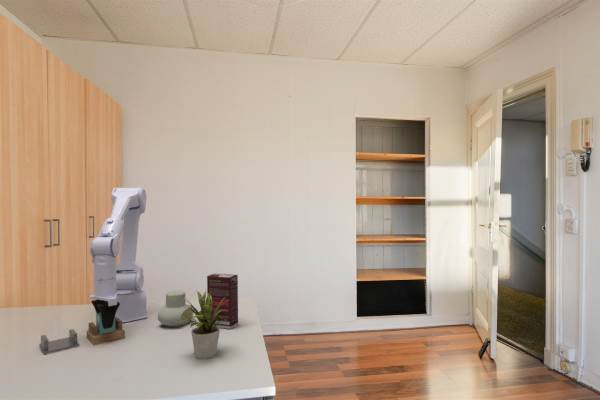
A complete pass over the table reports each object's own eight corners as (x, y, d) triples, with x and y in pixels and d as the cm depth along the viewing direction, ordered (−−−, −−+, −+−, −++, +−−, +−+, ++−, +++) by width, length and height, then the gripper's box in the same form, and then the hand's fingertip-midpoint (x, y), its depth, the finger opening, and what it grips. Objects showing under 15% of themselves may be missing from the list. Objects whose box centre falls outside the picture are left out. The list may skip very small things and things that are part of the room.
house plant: (165, 351, 97) (165, 288, 97) (215, 339, 105) (214, 281, 105) (185, 370, 85) (184, 299, 86) (239, 355, 94) (238, 290, 94)
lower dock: (73, 338, 106) (72, 327, 106) (79, 346, 101) (79, 334, 101) (39, 345, 101) (39, 334, 101) (43, 354, 95) (43, 342, 95)
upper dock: (116, 330, 112) (116, 316, 112) (124, 338, 106) (124, 322, 106) (86, 337, 107) (86, 321, 107) (93, 345, 101) (93, 328, 101)
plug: (111, 327, 110) (111, 308, 110) (115, 330, 107) (115, 311, 107) (96, 330, 107) (95, 311, 107) (99, 334, 104) (99, 314, 104)
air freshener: (174, 317, 125) (174, 288, 125) (196, 319, 123) (196, 289, 123) (153, 328, 115) (153, 296, 115) (177, 330, 112) (176, 297, 112)
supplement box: (238, 324, 117) (238, 274, 117) (231, 329, 113) (230, 277, 113) (215, 322, 120) (214, 272, 120) (206, 326, 116) (206, 275, 116)
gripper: (83, 276, 109) (83, 323, 109) (96, 284, 99) (96, 335, 99) (109, 273, 114) (109, 317, 114) (124, 280, 103) (125, 329, 103)
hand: (105, 325), depth 107 cm, fingers closed on plug, 4 cm apart
